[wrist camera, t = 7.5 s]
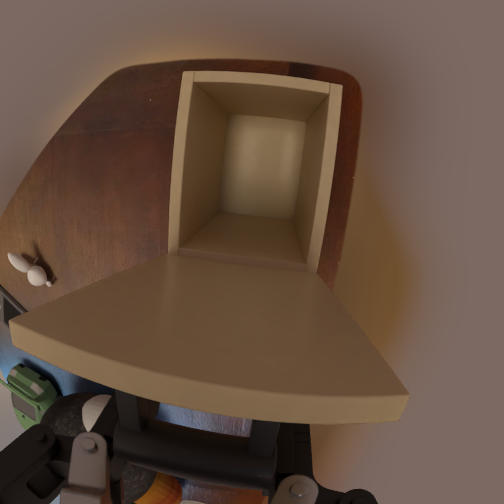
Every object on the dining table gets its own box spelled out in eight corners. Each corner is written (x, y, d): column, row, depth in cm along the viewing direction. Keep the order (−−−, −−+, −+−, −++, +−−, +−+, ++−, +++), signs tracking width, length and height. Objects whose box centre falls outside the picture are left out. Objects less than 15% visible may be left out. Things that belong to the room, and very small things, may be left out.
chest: (222, 108, 25) (182, 70, 13) (313, 117, 25) (343, 85, 13) (211, 216, 29) (167, 257, 17) (299, 227, 28) (315, 276, 16)
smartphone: (50, 330, 36) (47, 333, 36) (48, 360, 39) (46, 362, 38) (-4, 281, 35) (-6, 282, 34) (-3, 313, 37) (-6, 314, 37)
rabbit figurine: (46, 294, 34) (5, 267, 30) (56, 271, 36) (16, 244, 31) (50, 294, 30) (3, 263, 26) (61, 268, 32) (16, 237, 27)
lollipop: (163, 345, 34) (116, 432, 20) (167, 377, 36) (129, 460, 22) (122, 336, 35) (65, 411, 20) (128, 367, 37) (82, 442, 22)
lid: (7, 319, 5) (53, 464, 5) (411, 395, 4) (334, 525, 5) (165, 253, 16) (162, 336, 17) (317, 273, 16) (302, 357, 17)
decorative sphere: (75, 411, 43) (32, 478, 24) (70, 348, 37) (-1, 429, 18) (163, 454, 44) (135, 533, 25) (183, 403, 38) (143, 515, 19)
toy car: (59, 375, 40) (31, 409, 30) (85, 450, 49) (70, 477, 40) (18, 351, 40) (-10, 378, 30) (50, 431, 49) (34, 455, 40)
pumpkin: (192, 469, 45) (177, 527, 31) (180, 494, 51) (168, 538, 37) (106, 436, 45) (79, 487, 30) (110, 467, 51) (91, 508, 36)
